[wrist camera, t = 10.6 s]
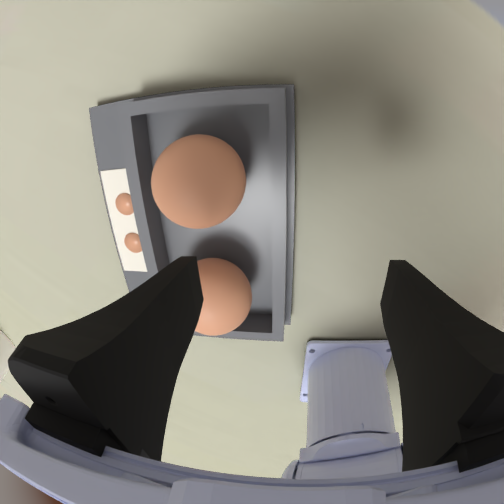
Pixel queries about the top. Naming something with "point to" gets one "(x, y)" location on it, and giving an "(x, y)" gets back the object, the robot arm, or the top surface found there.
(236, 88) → the grey rimmed tray
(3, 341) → the cylindrical container
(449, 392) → the robot arm
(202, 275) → the resting terracotta ball
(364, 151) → the top surface
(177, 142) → the terracotta ball
